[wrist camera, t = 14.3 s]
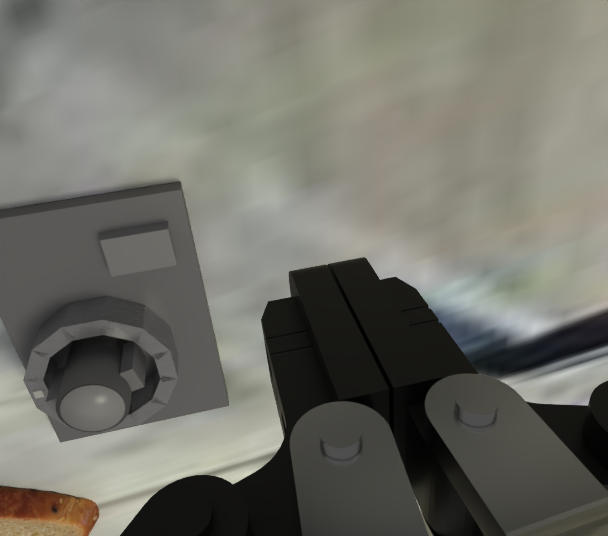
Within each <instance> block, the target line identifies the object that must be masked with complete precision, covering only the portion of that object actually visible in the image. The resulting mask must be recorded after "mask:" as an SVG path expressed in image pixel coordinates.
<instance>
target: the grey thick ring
mask: <svg viewBox="0 0 608 536" xmlns="http://www.w3.org/2000/svg"><path fill="white" fill-rule="evenodd" d="M99 335H106V336H111V337H116V338H120V339H125V340H130V341H134V342H135V343H136V344H137V345H139V346H140V347H141V348H142V349H144V350H145V351H146V352H148V353H149V354H150V355H151V356H153V357H154V359H155V362H156V368H155V370H154V373H153V374H151V375H150V376H148V377H147V378H146V379H145V386H144V387H143V388H140V389H138V390H135V391H131V401H130V409H129V413H128V415H127V417H126V418H125V419H124V420H123V421H122V422H121V423H120V424H119V425H117V426H116V427H114V428H111V429H109V430H106V431H101V432H107V431H112V430H116V429H121V428H125V427H130V426H135V425H139V424H141V423H142V422H144V421H145V420H147V419H148V418H149V417H151V416H152V415H154V414H155V413H156V412H158V411H159V410H161V409H162V408H163V407H165V406H166V405H167V403H168V401H169V399H170V396H171V394H172V392H173V389H174V387H175V385H176V382H177V380H178V352H177V349H176V345H175V341H174V338H173V334H172V330H171V327H170V325H168V324H167V323H166V322H165V321H164V320H163V319H161V318H160V317H159V316H158V315H157V314H155V313H154V312H153V311H152V310H151V309H150V308H148V307H147V306H146V305H144V304H140V303H136V302H132V301H128V300H124V299H120V298H116V297H112V296H102V297H97V298H92V299H86V300H81V301H75V302H70V303H68V304H67V305H65V306H64V307H63V308H61V309H60V310H59V311H58V312H56V313H55V314H54V315H52V316H51V317H50V318H49V319H47V320H46V321H45V322H43V323H42V324H41V326H40V329H39V332H38V334H37V337H36V340H35V343H34V346H33V348H32V352H31V355H30V359H29V362H28V366H27V369H26V373H25V376H24V382H25V385H26V387H27V389H28V391H29V393H30V395H31V397H32V399H33V401H34V403H35V405H36V407H37V408H38V409H39V410H41V411H42V412H44V413H46V414H47V415H49V416H50V417H52V418H54V419H55V420H57V421H59V422H60V423H62V424H63V425H65V426H67V425H66V424H65V423H63V422H62V421H61V420H60V419H59V418H58V417H57V416H56V414H55V413H54V412H53V411H52V410H51V409H50V407H49V406H48V405H47V404H46V403H45V402H46V398H47V395H48V391H49V388H50V384H51V381H52V377H53V374H54V371H55V370H58V367H57V364H56V362H55V360H54V357H53V355H54V354H55V353H57V352H58V351H59V350H61V349H62V348H63V347H65V346H66V345H67V344H69V343H70V342H71V341H73V340H79V339H84V338H89V337H94V336H99ZM67 427H69V426H67Z"/></svg>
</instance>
